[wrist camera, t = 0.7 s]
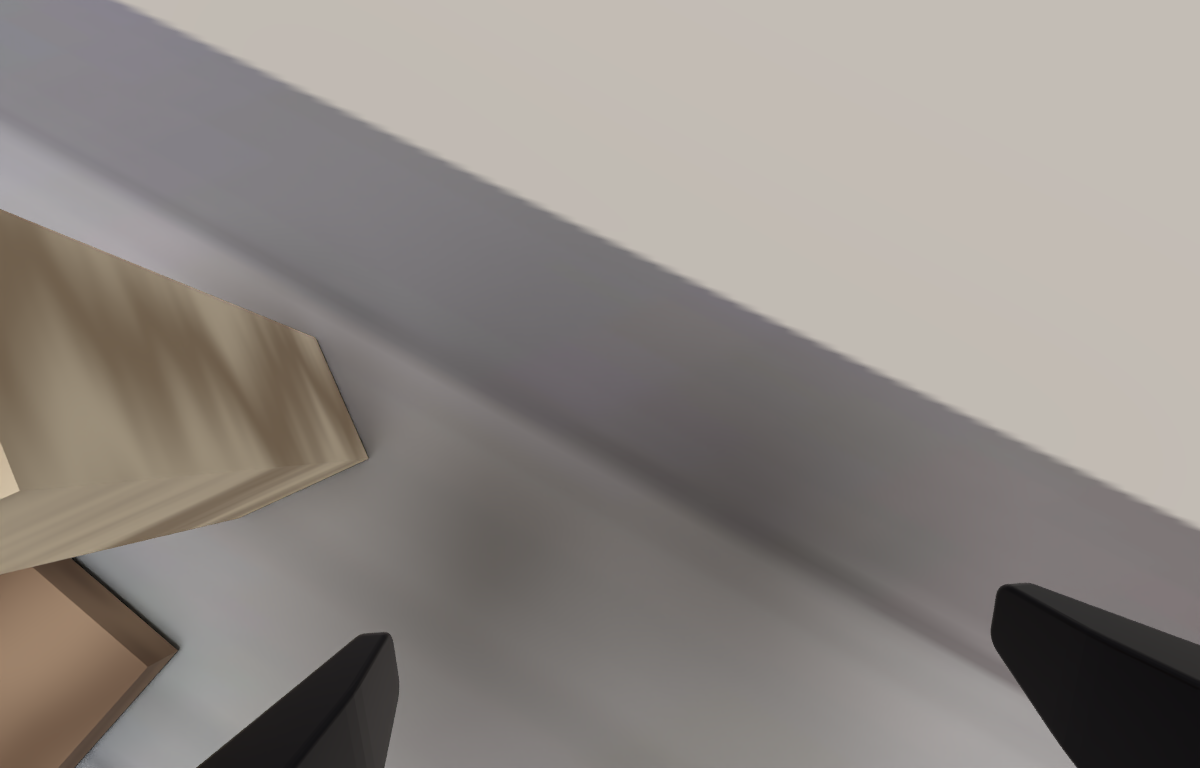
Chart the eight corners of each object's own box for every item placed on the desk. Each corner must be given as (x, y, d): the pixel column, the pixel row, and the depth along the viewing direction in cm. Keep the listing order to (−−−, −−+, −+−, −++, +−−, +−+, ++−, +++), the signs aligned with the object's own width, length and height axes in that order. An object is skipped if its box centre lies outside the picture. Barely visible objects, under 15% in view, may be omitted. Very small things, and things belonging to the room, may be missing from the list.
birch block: (368, 458, 22) (20, 490, 8) (239, 517, 21) (-372, 662, 7) (315, 337, 22) (-111, 163, 8) (187, 393, 22) (-494, 309, 8)
